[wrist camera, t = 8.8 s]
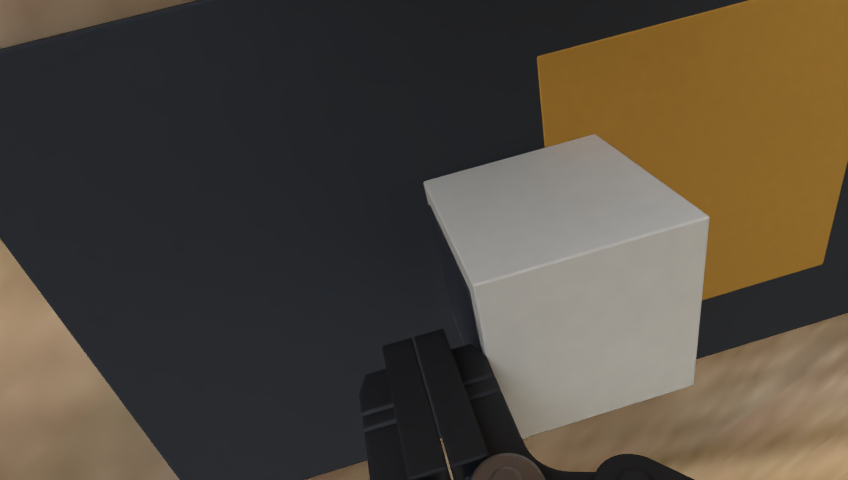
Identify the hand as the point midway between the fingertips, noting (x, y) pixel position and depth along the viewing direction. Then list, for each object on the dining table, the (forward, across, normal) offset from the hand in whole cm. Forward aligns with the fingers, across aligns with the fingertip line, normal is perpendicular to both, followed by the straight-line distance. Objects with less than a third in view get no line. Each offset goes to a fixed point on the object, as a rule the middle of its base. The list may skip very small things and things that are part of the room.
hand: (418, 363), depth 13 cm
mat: (+4, -5, 0) cm, 7 cm away
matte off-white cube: (+1, -1, 0) cm, 2 cm away
